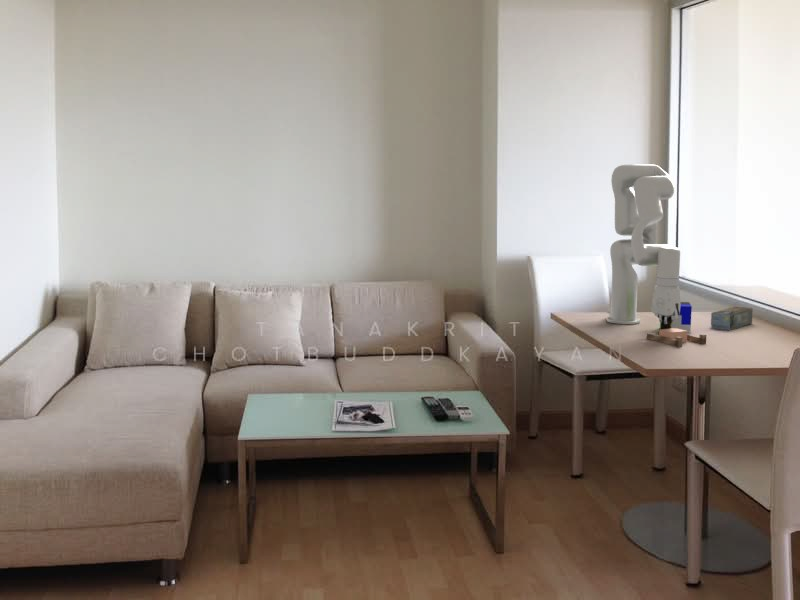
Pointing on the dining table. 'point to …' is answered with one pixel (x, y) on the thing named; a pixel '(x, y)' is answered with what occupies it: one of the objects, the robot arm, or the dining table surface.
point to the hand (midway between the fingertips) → (665, 334)
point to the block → (674, 333)
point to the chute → (677, 339)
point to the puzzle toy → (683, 318)
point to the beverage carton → (731, 318)
